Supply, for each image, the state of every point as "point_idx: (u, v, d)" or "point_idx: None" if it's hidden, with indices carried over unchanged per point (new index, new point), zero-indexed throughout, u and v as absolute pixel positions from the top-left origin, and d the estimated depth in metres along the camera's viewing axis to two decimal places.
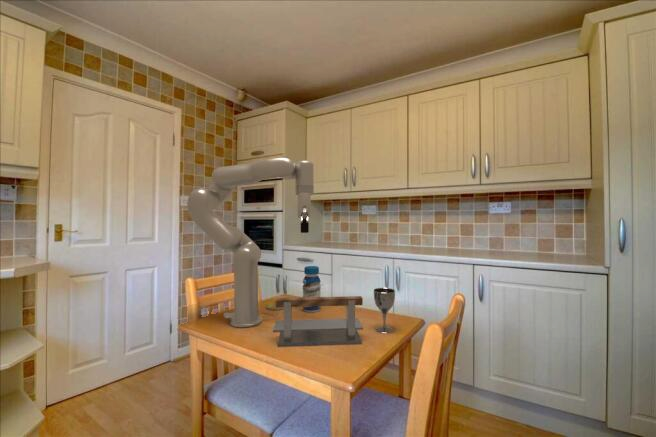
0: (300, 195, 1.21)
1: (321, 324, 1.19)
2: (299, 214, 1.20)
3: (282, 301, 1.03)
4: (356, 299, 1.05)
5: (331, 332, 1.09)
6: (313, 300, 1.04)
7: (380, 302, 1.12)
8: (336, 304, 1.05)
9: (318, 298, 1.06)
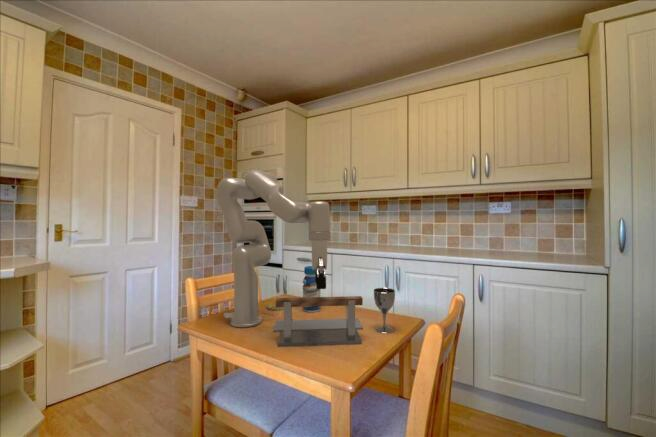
0: (315, 244, 1.01)
1: (321, 324, 1.19)
2: (314, 267, 1.01)
3: (282, 301, 1.03)
4: (356, 299, 1.05)
5: (331, 332, 1.09)
6: (313, 300, 1.04)
7: (380, 302, 1.12)
8: (336, 304, 1.05)
9: (318, 298, 1.06)
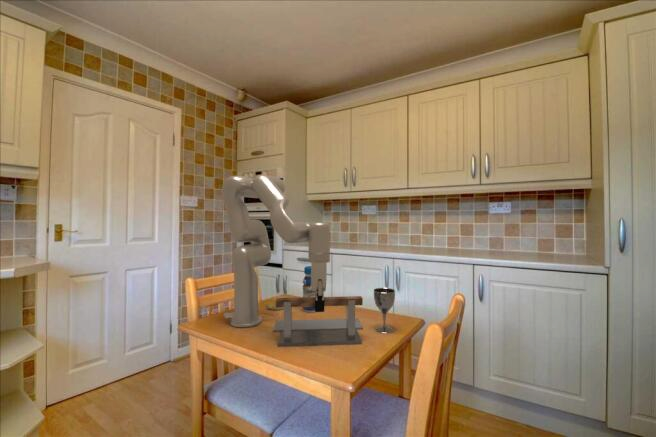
0: (315, 265, 1.01)
1: (321, 324, 1.19)
2: (313, 289, 1.01)
3: (282, 301, 1.03)
4: (356, 299, 1.05)
5: (331, 332, 1.09)
6: (313, 300, 1.04)
7: (380, 302, 1.12)
8: (336, 304, 1.05)
9: None
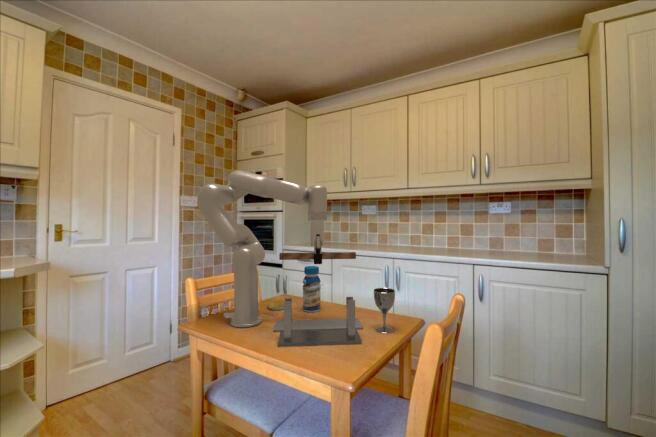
0: (313, 222, 1.15)
1: (321, 324, 1.19)
2: (312, 242, 1.15)
3: (285, 254, 1.17)
4: (350, 253, 1.19)
5: (331, 332, 1.09)
6: (312, 254, 1.18)
7: (380, 302, 1.12)
8: (332, 257, 1.19)
9: None
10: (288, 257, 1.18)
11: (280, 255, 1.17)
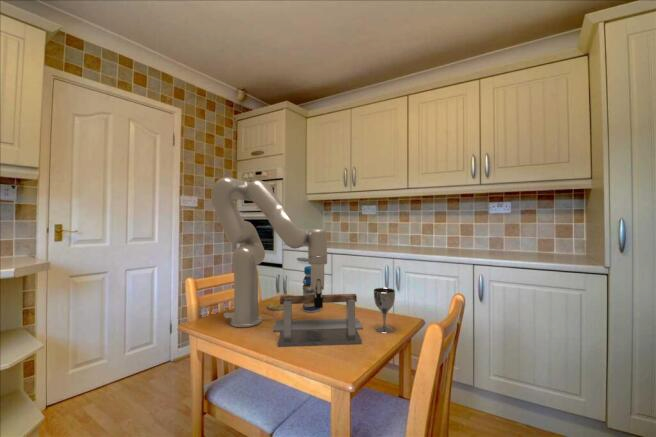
0: (314, 267, 1.15)
1: (321, 324, 1.19)
2: (313, 287, 1.15)
3: None
4: (351, 296, 1.19)
5: (331, 332, 1.09)
6: (313, 297, 1.18)
7: (380, 302, 1.12)
8: (333, 301, 1.19)
9: None
10: None
11: (281, 299, 1.17)
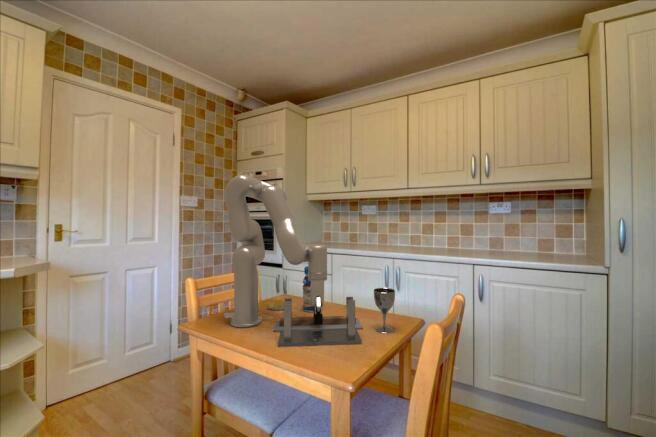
0: (314, 283, 1.15)
1: None
2: (313, 304, 1.15)
3: None
4: None
5: (331, 332, 1.09)
6: (312, 320, 1.18)
7: (380, 302, 1.12)
8: (332, 323, 1.19)
9: None
10: None
11: (280, 321, 1.17)
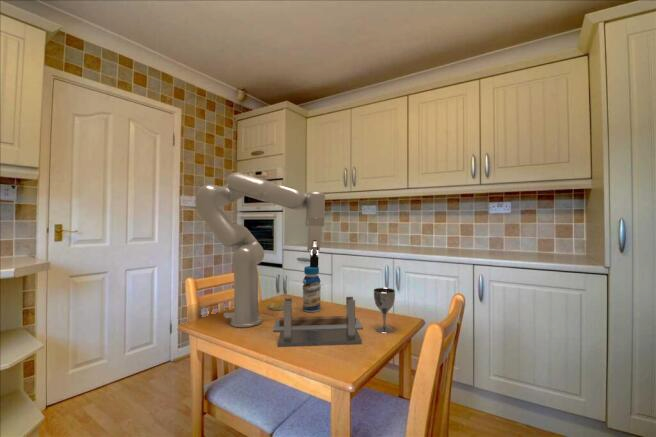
0: (310, 228, 1.17)
1: None
2: (309, 248, 1.16)
3: None
4: None
5: (331, 332, 1.09)
6: (312, 320, 1.18)
7: (380, 302, 1.12)
8: (332, 323, 1.19)
9: (317, 318, 1.20)
10: None
11: (280, 321, 1.17)
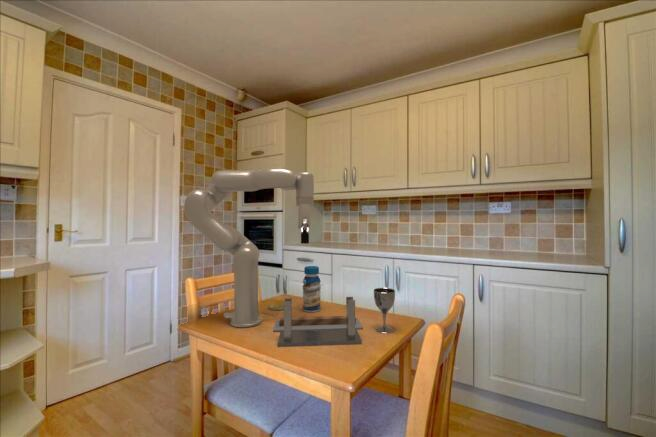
0: (300, 206, 1.23)
1: None
2: (299, 225, 1.22)
3: None
4: None
5: (331, 332, 1.09)
6: (312, 320, 1.18)
7: (380, 302, 1.12)
8: (332, 323, 1.19)
9: (317, 318, 1.20)
10: None
11: (280, 321, 1.17)
